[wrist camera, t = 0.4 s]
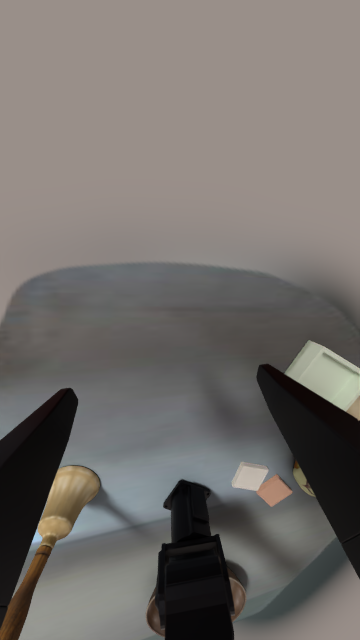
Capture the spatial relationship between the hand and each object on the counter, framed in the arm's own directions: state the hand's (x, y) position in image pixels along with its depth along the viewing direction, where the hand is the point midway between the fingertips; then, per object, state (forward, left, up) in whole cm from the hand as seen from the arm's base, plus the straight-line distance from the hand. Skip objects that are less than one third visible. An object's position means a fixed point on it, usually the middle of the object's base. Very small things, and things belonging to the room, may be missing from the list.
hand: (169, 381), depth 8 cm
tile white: (-19, -27, -16) cm, 37 cm away
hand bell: (-33, 0, -16) cm, 36 cm away
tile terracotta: (-20, -34, -16) cm, 42 cm away
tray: (+2, -26, -15) cm, 30 cm away
